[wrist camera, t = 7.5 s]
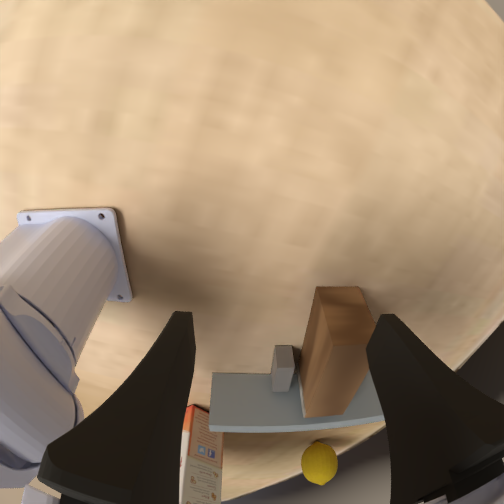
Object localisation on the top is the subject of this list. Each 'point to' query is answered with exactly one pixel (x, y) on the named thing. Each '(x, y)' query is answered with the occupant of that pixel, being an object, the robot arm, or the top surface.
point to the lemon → (319, 463)
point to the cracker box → (200, 460)
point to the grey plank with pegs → (280, 401)
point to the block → (334, 351)
